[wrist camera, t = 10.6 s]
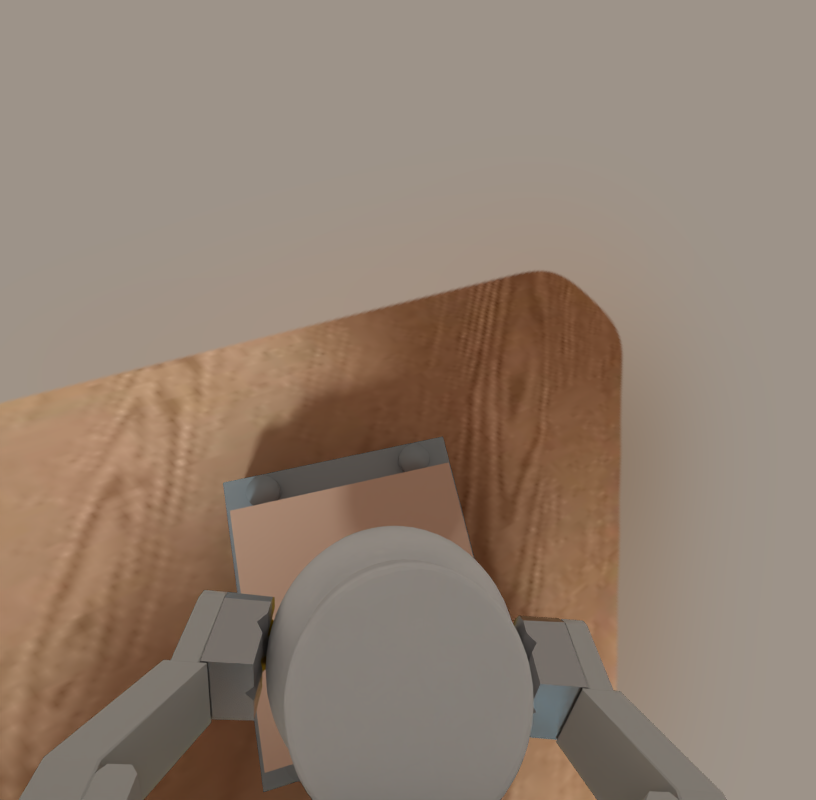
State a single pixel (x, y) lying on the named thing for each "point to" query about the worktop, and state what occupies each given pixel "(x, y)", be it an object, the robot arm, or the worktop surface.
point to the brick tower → (330, 533)
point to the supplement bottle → (399, 673)
